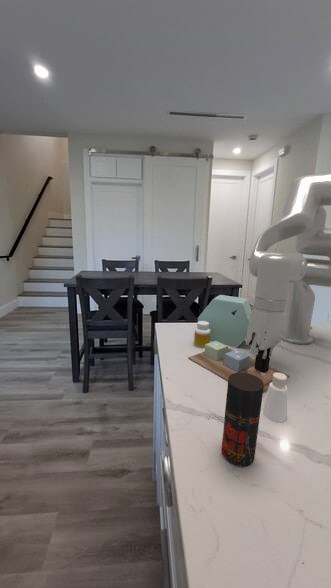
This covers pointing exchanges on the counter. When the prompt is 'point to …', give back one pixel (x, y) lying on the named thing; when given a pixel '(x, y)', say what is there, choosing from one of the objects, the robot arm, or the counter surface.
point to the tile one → (215, 350)
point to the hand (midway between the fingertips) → (261, 369)
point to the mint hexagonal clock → (227, 319)
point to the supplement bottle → (202, 334)
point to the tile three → (262, 375)
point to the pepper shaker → (276, 399)
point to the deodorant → (242, 418)
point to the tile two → (236, 361)
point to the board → (222, 370)
